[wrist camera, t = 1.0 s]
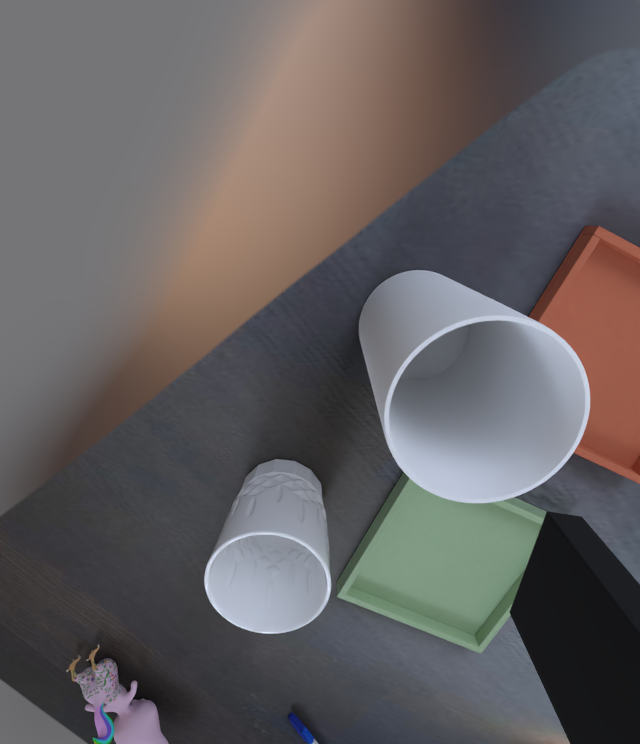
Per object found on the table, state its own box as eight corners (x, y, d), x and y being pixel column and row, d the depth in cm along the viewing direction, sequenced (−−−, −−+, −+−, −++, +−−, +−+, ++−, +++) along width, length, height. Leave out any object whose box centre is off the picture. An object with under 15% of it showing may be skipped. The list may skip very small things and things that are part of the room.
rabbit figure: (72, 651, 46) (157, 767, 47) (28, 704, 40) (127, 835, 41) (120, 625, 45) (206, 745, 46) (82, 676, 39) (182, 811, 40)
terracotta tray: (585, 225, 31) (599, 225, 30) (751, 315, 33) (773, 320, 31) (474, 401, 35) (481, 410, 34) (628, 473, 37) (641, 484, 36)
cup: (338, 349, 34) (346, 453, 19) (395, 248, 32) (455, 274, 17) (432, 398, 35) (511, 533, 20) (494, 304, 33) (636, 376, 18)
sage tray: (414, 452, 37) (418, 463, 35) (564, 519, 39) (575, 532, 37) (336, 582, 41) (336, 597, 39) (475, 637, 43) (481, 654, 41)
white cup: (310, 439, 37) (304, 516, 27) (343, 519, 39) (348, 616, 29) (219, 468, 38) (183, 552, 28) (256, 545, 40) (234, 646, 30)
